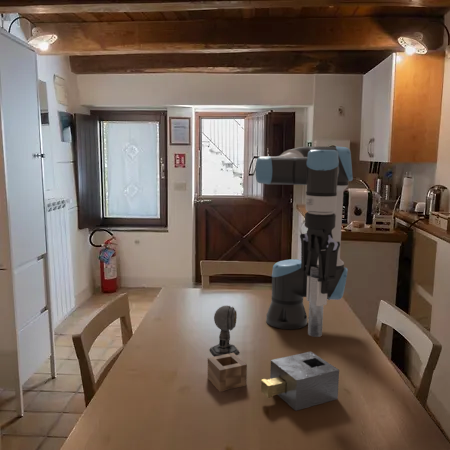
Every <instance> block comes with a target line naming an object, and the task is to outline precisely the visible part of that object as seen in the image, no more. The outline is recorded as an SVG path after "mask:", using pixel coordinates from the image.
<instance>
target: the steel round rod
mask: <svg viewBox="0 0 450 450" xmlns="http://www.w3.org/2000/svg"><path fill="white" fill-rule="evenodd" d="M324 276H325V275H324ZM317 279H320V275H319V265H312V266H311V269H310V297H309V301H308V303H309V304H308V320H307V325H308V326H307V335H308V336H311V337H314V338H315V337H316V338H318V337H319V338H320V337H321V336H322V335H323V320H324V305H322V306H317V305H316V301H317Z"/></svg>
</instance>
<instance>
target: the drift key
mask: <svg viewBox="0 0 450 450" xmlns="http://www.w3.org/2000/svg"><path fill="white" fill-rule="evenodd" d="M260 383H261V384H260V392H261V393H262V394H263V395H264V396H265V397H266V398H267V399H270V398H273V397H274V396H276V395H277V394H281V393H285V392H286V389H287V382H286V381H285V380H284V379H283V378H281V377H277V378H272V379H270V378H268V379H266V378H263V379H261V382H260ZM277 396H278V395H277Z"/></svg>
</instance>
